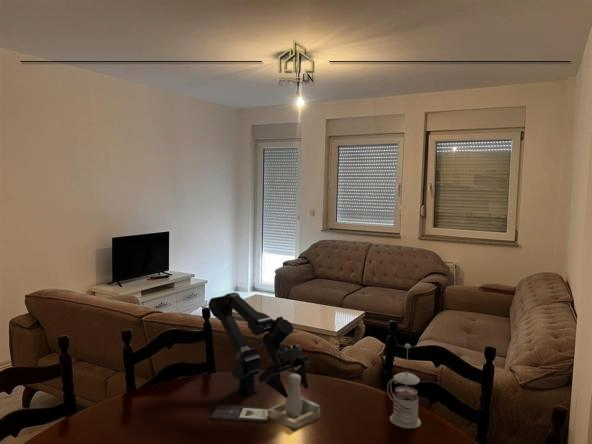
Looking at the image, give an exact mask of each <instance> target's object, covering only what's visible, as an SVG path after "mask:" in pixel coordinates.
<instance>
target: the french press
mask: <svg viewBox="0 0 592 444" xmlns="http://www.w3.org/2000/svg"><path fill="white" fill-rule="evenodd" d="M404 348H405V349H407V350H406V365H408V360H409V357H408V356H409V349H411V348H412V347H411V344H410V343H405V344H404ZM393 381H394V384H402V385H400V386H396V387H395V388H394V393H393V391H392V390H393V389H392V386H390V392H391V395H392V396H391V395H390V392H389V385H392V383H393ZM419 383H420V378H419V377H418V376H417V375H415V374H413V373H410V372H406V371H405V372H399V373H396V374H395V375H394V376H393V379H390V380H389V381H388V383H387V385H386V386H387V388H386V390H387V394H388V396H389V398H390V400H392V402H393V407H392V409H393V410H392V411H393V412H392V414H391V416H389V420H390V422H391V423H392V424H394V425H395V426H397V427H400V428H404V429H416V428H418V427H420V426H421V425H422V421H421V419H420V418H419V395H418V390H417V389H416V388H414V387H411V386H414V385H417V384H419ZM392 397H393V398H392Z"/></svg>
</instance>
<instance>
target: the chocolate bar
mask: <svg viewBox="0 0 592 444" xmlns="http://www.w3.org/2000/svg"><path fill="white" fill-rule="evenodd" d="M269 408H270V407H266V406H265V407H263V406H249V405H248V406H247V405H236V404H235V405H234V404H233V405H232V404H221V403H218V404H217V406H216V408H215V409H214V411H213V412H212V415H211V416H210V420H214V421H215V420H217V421H219V420H220V421H231V422H233V421H234V422H244V421H248V422H247V423H258V422H262V424H267V422H268V420H269V417H268V409H269Z"/></svg>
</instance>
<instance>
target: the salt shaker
mask: <svg viewBox="0 0 592 444" xmlns="http://www.w3.org/2000/svg"><path fill="white" fill-rule="evenodd" d="M300 382H301V376H300V375H298V374H294V373H290V374H289V375H288V376H287V383H288V387H287V391H286V392H287V394H288V397H287V398H285V401H284V402H285V406H284V408H285V411H286V413H287V415H288V417H292V418H295V417H298V416H299V414H300V412H301V411H302V402H301V397H302V396H301V388H300V384H301V383H300Z"/></svg>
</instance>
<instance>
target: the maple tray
mask: <svg viewBox="0 0 592 444" xmlns="http://www.w3.org/2000/svg"><path fill="white" fill-rule="evenodd" d="M301 402H302V411H301V412H300V414H299V416H298V417H295V418H292V417H288V415H287V413H286V411H285V408H284V406H285V401H283V402H280V403H279V404H277V405H273V406H272V407H268V408H269V409H268V419H271V420H272V421H274V422H277V423H278V424H279V425H281V426H283V427H285V428H287V429H289V430H291V431H293V432H295V431H296V430H297V431H298V430H299V429H301V428H303V427H305V426H307V425H309V424H311V423H313V422H314V421H317V420H318V419H320V418H321V405H319V403H316V402H313V401H311V400H309V399H307V398H305V397H303V396H301Z"/></svg>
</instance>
